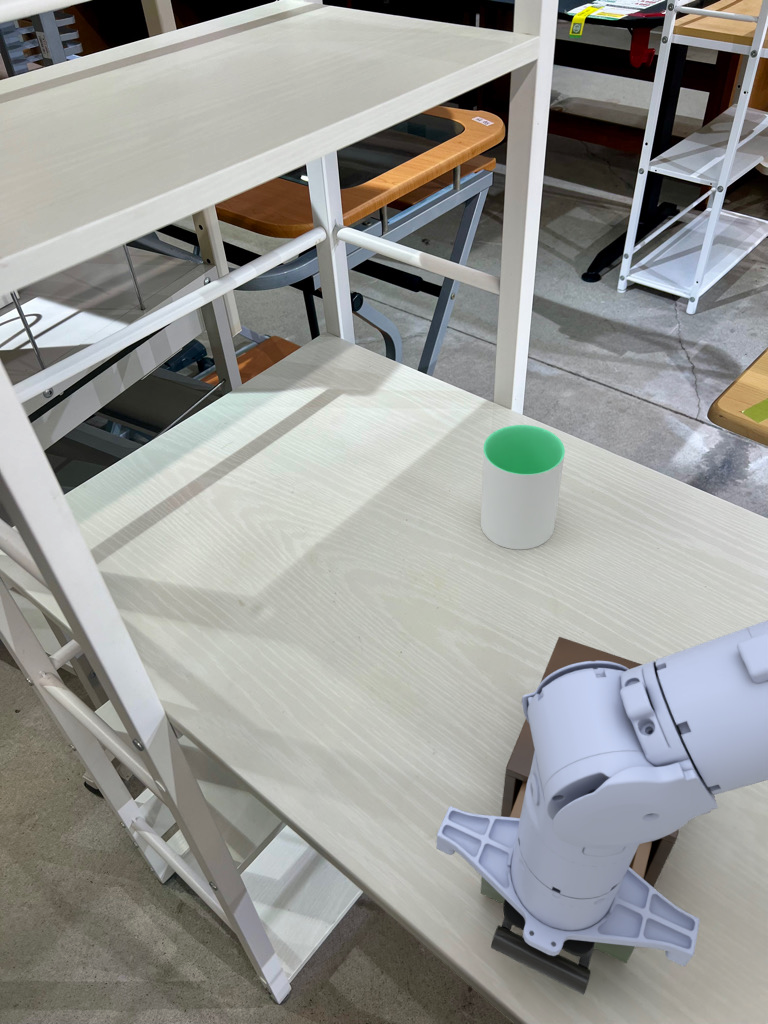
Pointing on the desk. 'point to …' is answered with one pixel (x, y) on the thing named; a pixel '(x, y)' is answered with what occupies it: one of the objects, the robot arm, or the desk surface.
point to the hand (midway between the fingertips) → (544, 931)
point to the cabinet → (524, 748)
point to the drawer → (558, 965)
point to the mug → (521, 486)
